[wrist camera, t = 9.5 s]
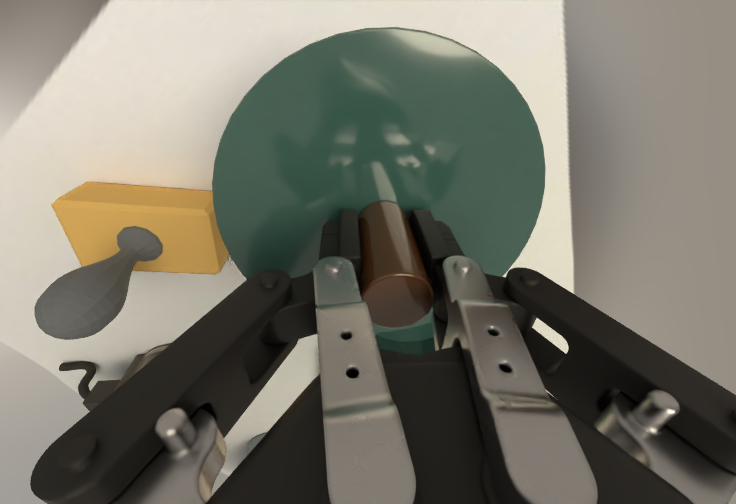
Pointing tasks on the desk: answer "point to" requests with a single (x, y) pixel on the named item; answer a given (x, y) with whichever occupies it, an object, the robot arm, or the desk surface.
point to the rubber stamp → (125, 249)
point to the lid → (379, 163)
